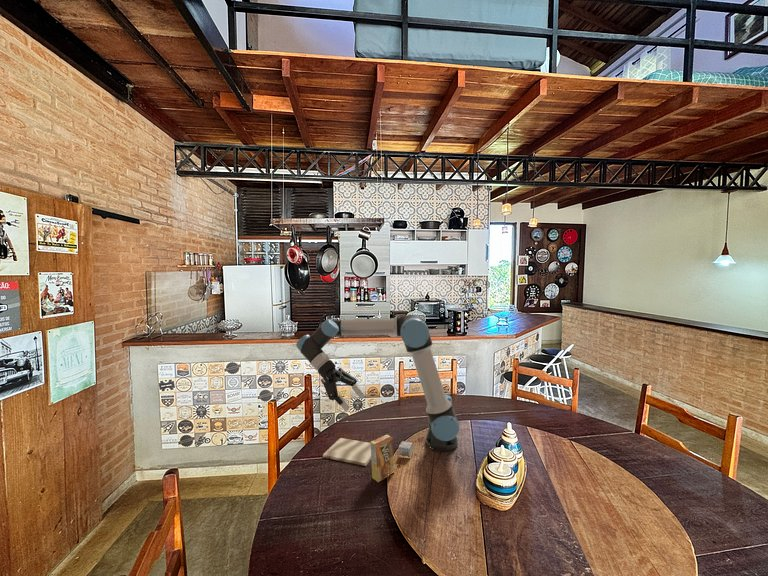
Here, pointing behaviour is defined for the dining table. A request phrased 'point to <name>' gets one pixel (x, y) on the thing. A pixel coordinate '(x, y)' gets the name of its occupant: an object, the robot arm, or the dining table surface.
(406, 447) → the metal block
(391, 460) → the candy box
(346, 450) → the birch board
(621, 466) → the dining table surface
